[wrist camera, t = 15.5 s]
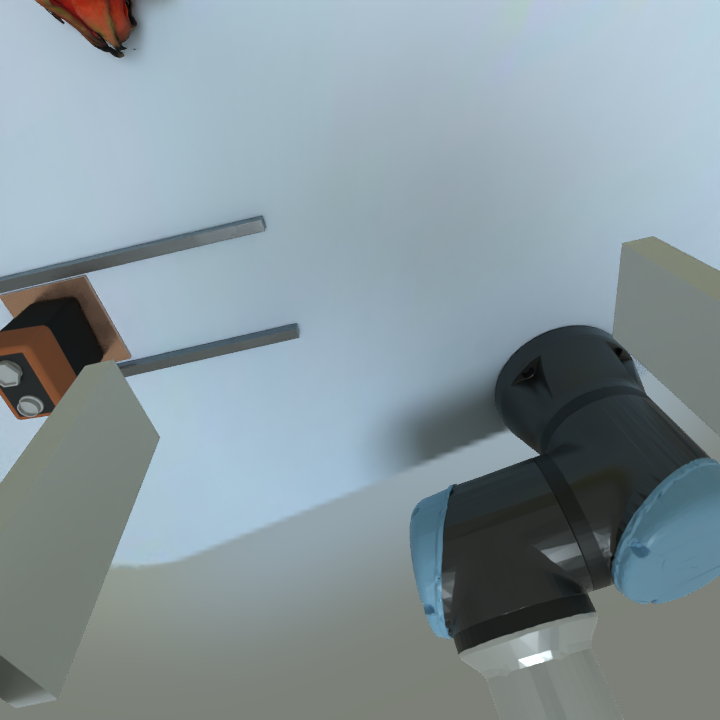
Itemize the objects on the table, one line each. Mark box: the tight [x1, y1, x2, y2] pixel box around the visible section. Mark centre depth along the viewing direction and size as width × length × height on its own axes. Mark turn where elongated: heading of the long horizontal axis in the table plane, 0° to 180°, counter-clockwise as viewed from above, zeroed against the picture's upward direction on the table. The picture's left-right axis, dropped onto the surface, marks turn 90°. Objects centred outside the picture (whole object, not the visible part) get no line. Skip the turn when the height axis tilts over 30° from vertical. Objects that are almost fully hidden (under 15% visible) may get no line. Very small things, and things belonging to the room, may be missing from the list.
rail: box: [0, 216, 299, 377], centre depth 45 cm, size 12×28×1 cm, turn 102°
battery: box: [0, 298, 103, 420], centre depth 41 cm, size 4×7×10 cm, turn 7°
